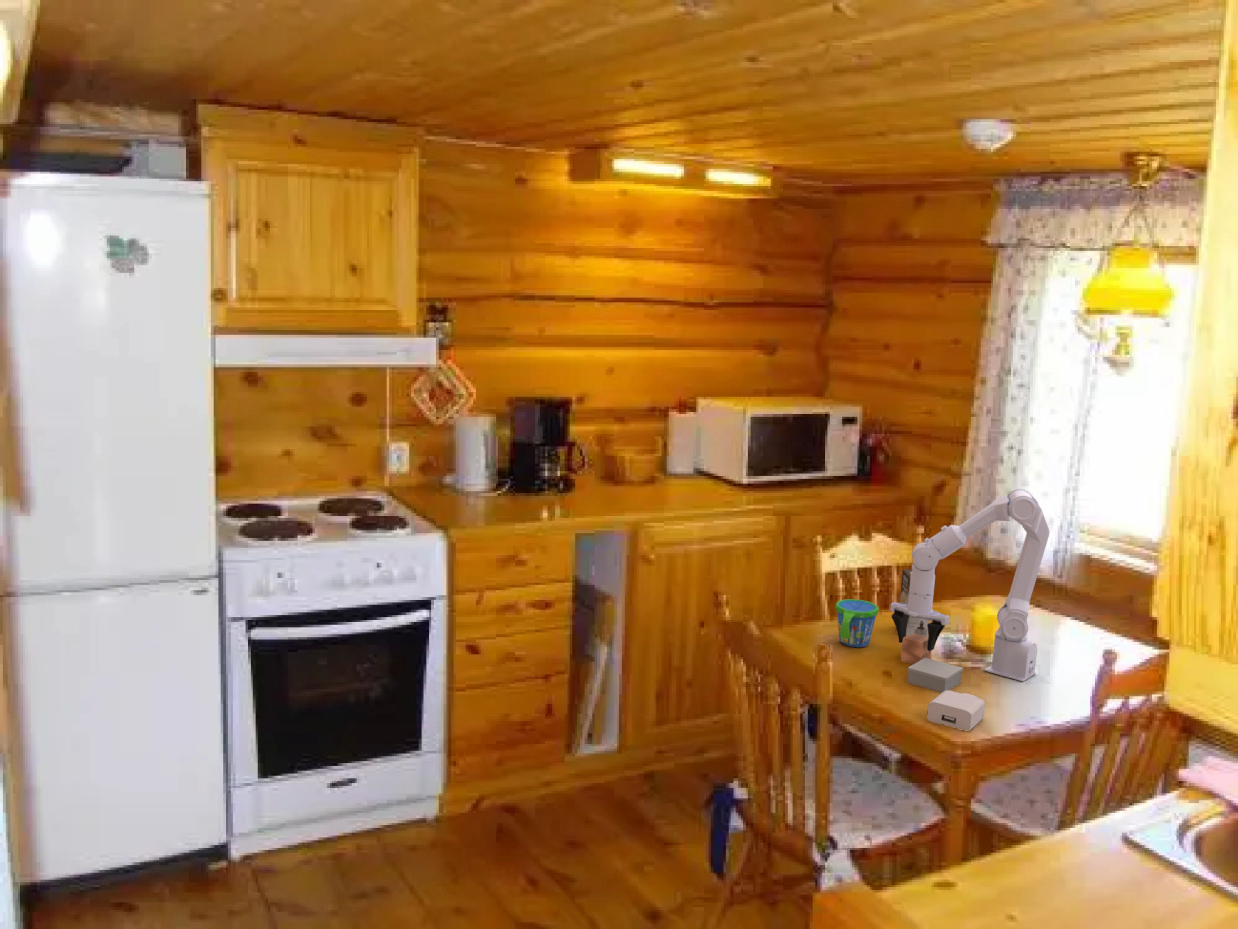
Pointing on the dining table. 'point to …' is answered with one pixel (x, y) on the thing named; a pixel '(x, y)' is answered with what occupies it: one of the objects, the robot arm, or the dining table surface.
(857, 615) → the snack cup
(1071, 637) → the dining table surface
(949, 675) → the slate box
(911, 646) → the terracotta block
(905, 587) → the coffee box
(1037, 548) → the robot arm
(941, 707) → the charger
